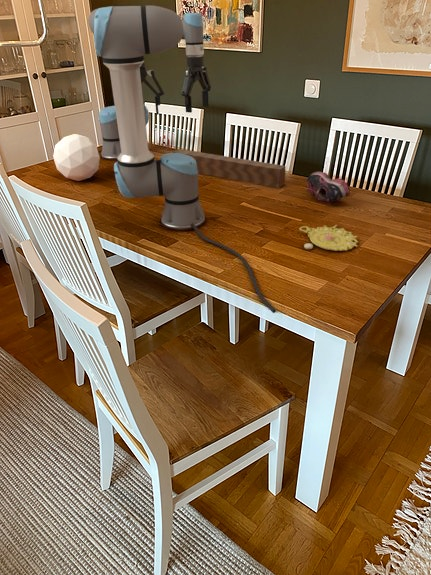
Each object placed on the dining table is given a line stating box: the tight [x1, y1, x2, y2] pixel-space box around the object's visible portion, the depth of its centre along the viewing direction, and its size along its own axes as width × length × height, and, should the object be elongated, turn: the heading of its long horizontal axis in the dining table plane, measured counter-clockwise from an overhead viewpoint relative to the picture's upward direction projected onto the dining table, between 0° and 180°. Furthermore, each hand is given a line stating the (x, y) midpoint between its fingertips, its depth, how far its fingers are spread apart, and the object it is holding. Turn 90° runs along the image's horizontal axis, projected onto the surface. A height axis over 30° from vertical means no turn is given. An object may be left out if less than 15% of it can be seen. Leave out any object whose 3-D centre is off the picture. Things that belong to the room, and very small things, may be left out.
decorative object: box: [299, 224, 359, 252], centre depth 141 cm, size 21×2×20 cm
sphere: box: [52, 133, 101, 182], centre depth 194 cm, size 19×20×20 cm
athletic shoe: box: [304, 171, 351, 203], centre depth 169 cm, size 11×22×12 cm
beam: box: [172, 148, 286, 189], centre depth 195 cm, size 54×5×8 cm, turn 57°
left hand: (197, 109), depth 197 cm, fingers open, 13 cm apart
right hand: (140, 115), depth 180 cm, fingers open, 13 cm apart
